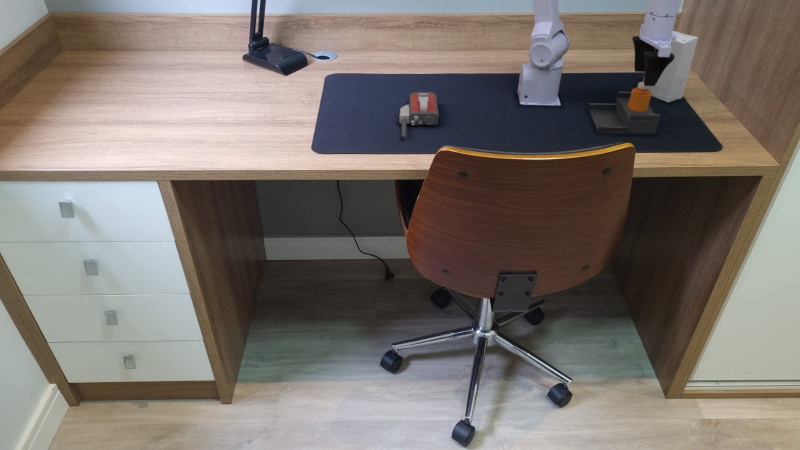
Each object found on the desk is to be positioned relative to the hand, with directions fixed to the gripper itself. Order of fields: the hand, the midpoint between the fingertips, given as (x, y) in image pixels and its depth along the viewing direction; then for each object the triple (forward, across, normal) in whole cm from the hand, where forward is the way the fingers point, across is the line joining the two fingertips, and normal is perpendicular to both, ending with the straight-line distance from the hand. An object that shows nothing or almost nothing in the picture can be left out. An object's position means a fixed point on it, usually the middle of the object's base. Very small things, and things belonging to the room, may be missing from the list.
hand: (644, 78), depth 120 cm
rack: (+10, 0, +3) cm, 11 cm away
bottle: (+7, 0, 0) cm, 7 cm away
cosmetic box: (+11, +15, -10) cm, 21 cm away
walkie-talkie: (+11, -2, +48) cm, 49 cm away
